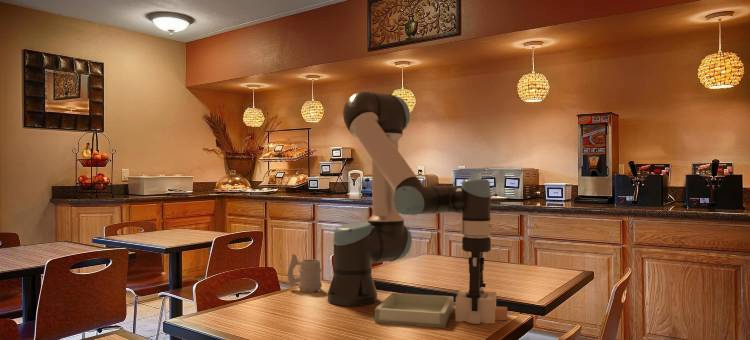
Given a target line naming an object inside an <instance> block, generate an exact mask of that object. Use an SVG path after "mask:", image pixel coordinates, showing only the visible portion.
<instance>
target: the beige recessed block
mask: <svg viewBox="0 0 750 340" xmlns="http://www.w3.org/2000/svg"><path fill="white" fill-rule="evenodd" d="M467 294H469V290H462V289H461V290H459V291H458V293H457V294H456V296H455V321H456V322H462V321H468V322H467V323H469V298H467ZM497 320H507V321H508V306H498V305H497V292H496V291H484V294H481V298H480V322H482V323H481V324H489V323H495V324H496V321H497Z"/></svg>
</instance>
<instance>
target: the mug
mask: <svg viewBox="0 0 750 340" xmlns="http://www.w3.org/2000/svg"><path fill="white" fill-rule="evenodd" d="M296 266H300V268H299V276H298V277H295V276H294V269H295V267H296ZM287 269H288V270H287V281H288V283H289V285H290V287H293V286H295V284H297V283H299V284H298V288H299V292H301V291H303V292H302V293H308V292H309V293H310V292H312V293H316V292H315V291H318V292H320V291H319V290H322V287H323V283H322V282H321V280H322V279H321V278H322V277H321V272H322V268H321V261H320V259H312V258H311V259H302V260H299V261H298V257H297V255H296V254H295V253H292V254H291V260H290V263H289V265H288V268H287Z"/></svg>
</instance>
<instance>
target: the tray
mask: <svg viewBox="0 0 750 340" xmlns="http://www.w3.org/2000/svg"><path fill="white" fill-rule="evenodd" d="M454 301H455V299H454V295H452V296H451V295H434V294H416V293H401V292H392V293H390V295H388V296H387V297H386V298H385V299H384V300H383V301H382V302H381V303H380V304H378V305H377V306H376V307H375V308H374V323H376V324H387V325H389V324H390V325H401V326H403V325H404V326H415V327H417V326H418V327H428V328H429V327H430V328H440V329H441V328H442V329H444V328H445V327H446V326H447V324H448V321H449V319H450V317H451V315H452V314H453V311H454V309H453V308H454V306H455V305H454V303H455V302H454ZM452 310H453V311H452Z"/></svg>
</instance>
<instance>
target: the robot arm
mask: <svg viewBox="0 0 750 340" xmlns="http://www.w3.org/2000/svg"><path fill="white" fill-rule="evenodd" d="M410 112H411V111H410V108H409V105H408V104H407V102H406V101H405V100H404V99H403V98H402V97H400V96H396V95H393V94H386V93H385V94H384V93H380V92H379V93H377V92H372V91H371V92H370V91H358V92H356V93H353V94H352V95H350V97H348V99H347V100H346V101H345V104H344V105H343V110H342V116H343V122H344V124H345V126H346V128H347V130H348V131H349V133H350V134H351V136H353V137H355V138H357V139H358V140H359V142H360V143H361V145H362V146H363V148H364V149H365V151H366V152H367V154H368V155H369V156H370V158H371V177H372V178H371V179H372V180H371V181H372V187H371V189H372V194H371V195H372V215H371V216H370V217H369V218H368V219H367V222H366V221H359V222H358V221H355V222H349V223H343V224H340V225H338V226H337V227H336V228H335V229H334V232H333V240H332V243H333V274H332V275H333V276H332V279H331V282H330V286H329V288H328V291H327V302H328V303H330V304H332V305H337V306H345V307H346V306H347V307H349V306H350V307H351V306H352V307H354V306H355V307H356V306H358V307H359V306H367V305H371V304H375V303H376V302H377V301H378V291H377V288H376V285H375V281H374V279H373V273H372V269H373V268H372V266H373V265H372V264H379V263H385V262H395V261H397V260H398V261H399V260H402V259H403V258H405V257H406V256H407V255H408V253H409V252H410V250H411V246H412V232H411V231H410V229H409V227H408V226H407V225H405V219H404V218H403V217H402V216H401V215H405V216H407V215H408V216H409V215H411V216H417V215H426V214H447V213H451V214H461V217H462V218H461V219H462V220H461V234H462V235H463V237H462V239H461V240H462V244H461V249H462V251H463V252H467V253H468V252H470V253H471V256H469V257H468V266H469V267H468V273H469V283H468V284H469V287H468V291H469V294H467V298H469V322H468V323H469V324H477V325H480V324H481V323H480V298H479V297H480V290H481V291H484V288H486V285H487V284H486V283H485V282H484V268H485V265H484V264H485V257H483V255H484V253H488V252H490V251H491V249H492V248H491V246H492V245H491V243H492V241H491V240H492V239H491V237H490V235H491V228H492V229H493V227H494V226H493V224H492V223H491V202H492V201H491V199H492V195H491V183H490V181H489V179H485V178H484V179H482V178H475V179H473V178H467V179H466V178H465V179H463V180H461V185H459V186H456V185H453V186H452V185H431V186H430V185H424V184H423V183H422V181H421V180H420V179H419V178H418V175H416V174H415V172H414V171H413V169H412V168H411V166H410V165H409V164H408V162H406V160H405V158H404V157H403V155H402V154H401V152H400V151H399V140H400V139H401V138H402V137H403V133H404V132H403V131H404V130H405V129H406V128H407V127H408V124H409V123H410V120H411V117H410V115H411V113H410Z"/></svg>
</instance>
